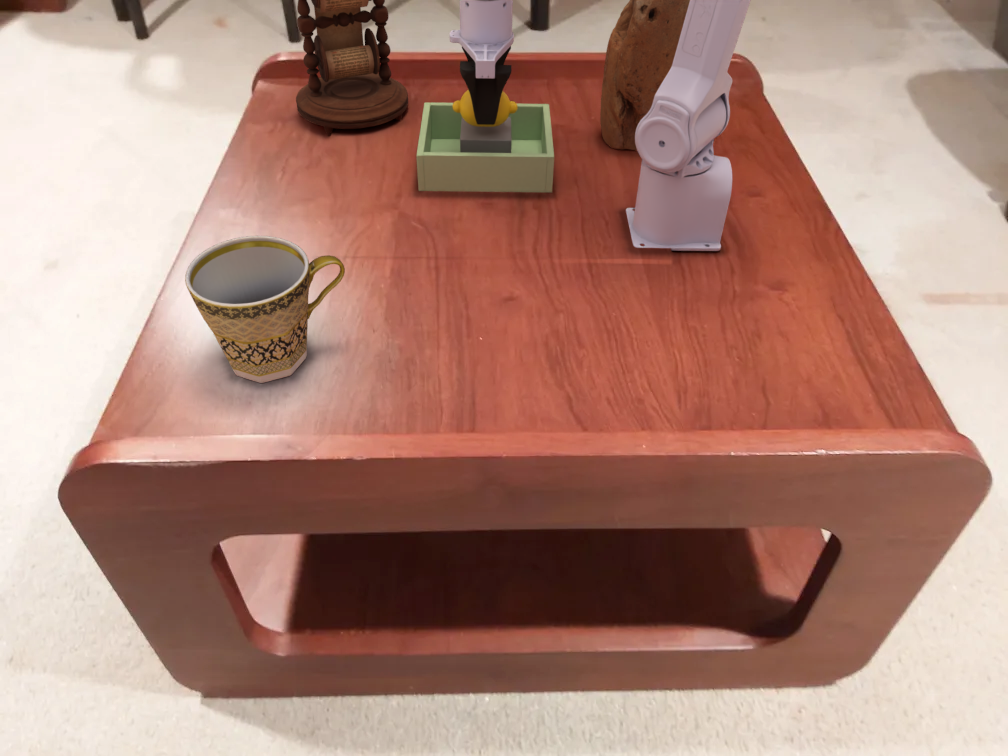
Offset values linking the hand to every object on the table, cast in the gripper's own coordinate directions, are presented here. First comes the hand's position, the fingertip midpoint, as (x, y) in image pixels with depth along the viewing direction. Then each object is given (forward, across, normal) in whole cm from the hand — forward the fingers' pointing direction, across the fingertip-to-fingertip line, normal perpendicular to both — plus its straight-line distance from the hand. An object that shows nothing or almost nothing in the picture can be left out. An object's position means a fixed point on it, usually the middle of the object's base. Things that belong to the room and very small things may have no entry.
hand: (486, 113), depth 96 cm
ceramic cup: (+7, +35, -18) cm, 40 cm away
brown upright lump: (+7, -7, +20) cm, 22 cm away
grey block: (+6, 0, 0) cm, 6 cm away
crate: (+7, 0, 0) cm, 7 cm away
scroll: (+7, -14, -18) cm, 24 cm away
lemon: (+1, 0, 0) cm, 1 cm away
